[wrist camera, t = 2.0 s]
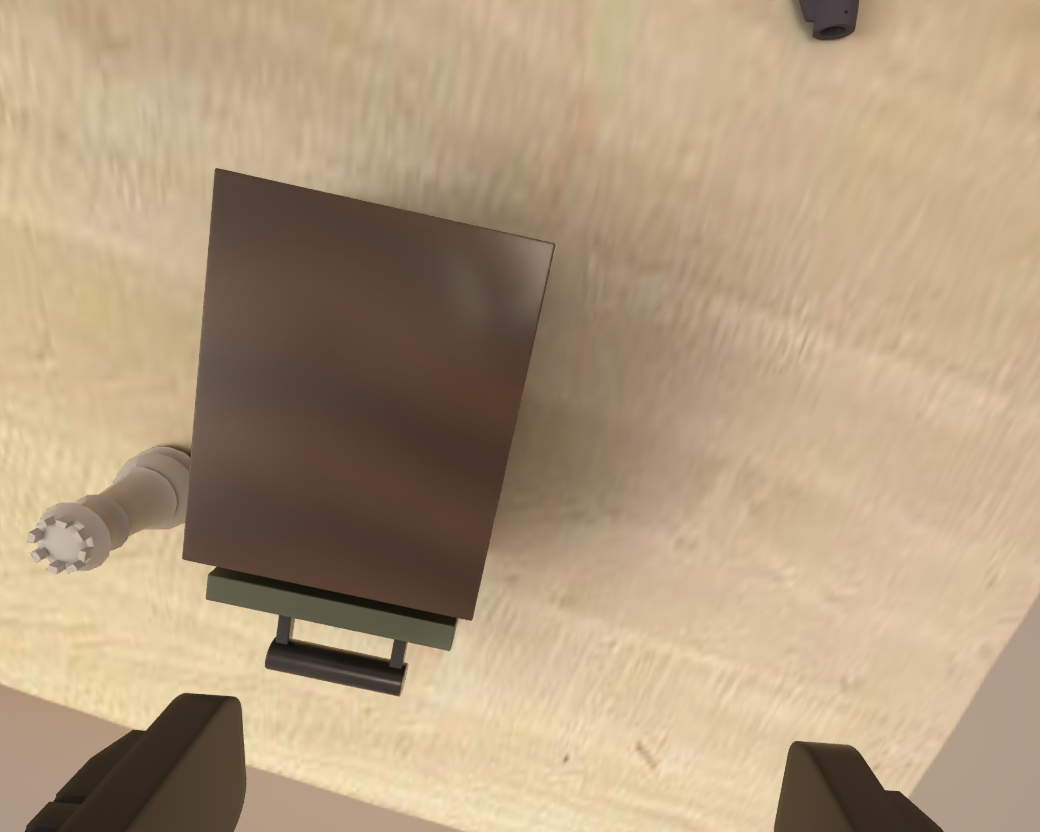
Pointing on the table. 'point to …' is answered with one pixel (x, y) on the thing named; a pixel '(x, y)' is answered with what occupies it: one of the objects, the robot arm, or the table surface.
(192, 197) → the table surface
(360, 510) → the cabinet
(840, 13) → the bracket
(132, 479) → the rook chess piece
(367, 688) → the drawer
